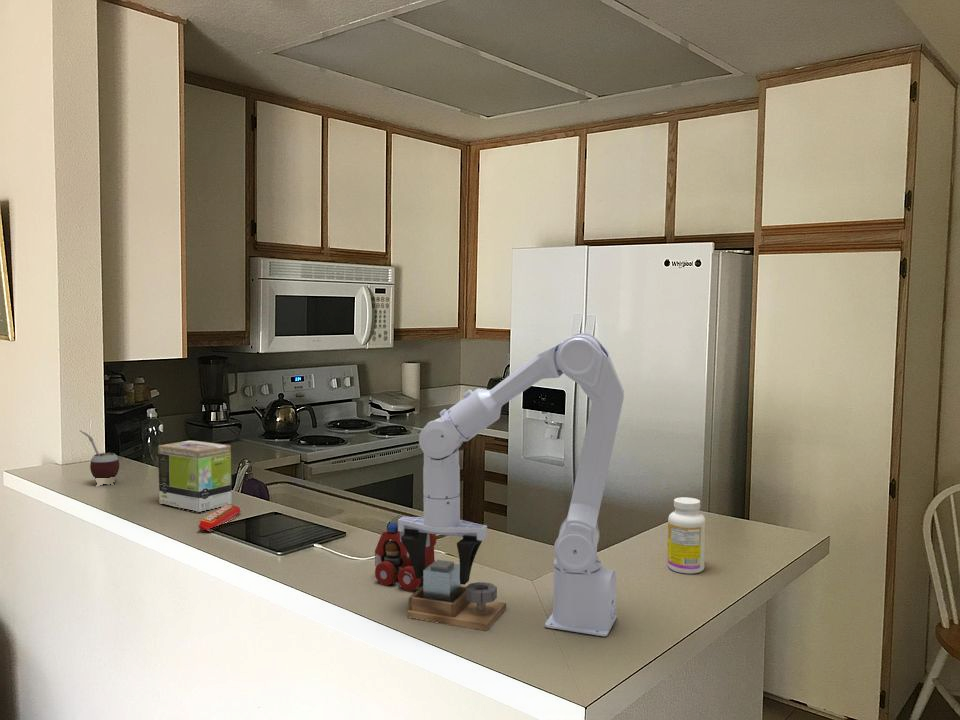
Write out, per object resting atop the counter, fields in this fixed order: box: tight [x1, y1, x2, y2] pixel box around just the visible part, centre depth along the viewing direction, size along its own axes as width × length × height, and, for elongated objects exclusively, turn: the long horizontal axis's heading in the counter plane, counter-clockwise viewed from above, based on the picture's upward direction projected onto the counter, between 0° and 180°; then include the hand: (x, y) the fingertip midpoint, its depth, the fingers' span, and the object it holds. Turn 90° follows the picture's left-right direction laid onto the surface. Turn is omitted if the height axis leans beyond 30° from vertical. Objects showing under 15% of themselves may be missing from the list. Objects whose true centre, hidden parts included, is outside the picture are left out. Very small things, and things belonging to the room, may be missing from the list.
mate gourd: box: [79, 430, 120, 479], centre depth 207 cm, size 8×8×15 cm
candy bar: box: [198, 503, 242, 531], centre depth 172 cm, size 16×4×3 cm, turn 174°
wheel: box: [466, 581, 498, 604], centre depth 121 cm, size 5×5×2 cm
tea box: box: [157, 440, 233, 511], centre depth 186 cm, size 15×10×15 cm, turn 58°
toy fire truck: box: [374, 521, 437, 592], centre depth 136 cm, size 7×12×10 cm, turn 58°
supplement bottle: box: [667, 496, 706, 575], centre depth 143 cm, size 7×7×13 cm
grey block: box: [422, 559, 462, 603], centre depth 123 cm, size 4×4×7 cm
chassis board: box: [406, 585, 507, 632], centre depth 122 cm, size 13×9×4 cm
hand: (442, 579), depth 123 cm, fingers open, 7 cm apart
